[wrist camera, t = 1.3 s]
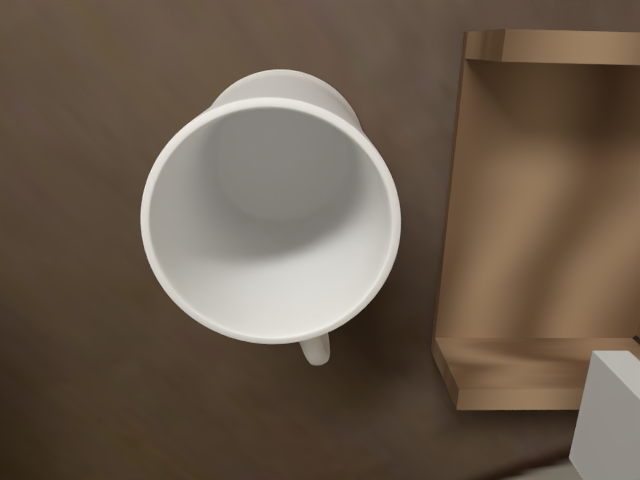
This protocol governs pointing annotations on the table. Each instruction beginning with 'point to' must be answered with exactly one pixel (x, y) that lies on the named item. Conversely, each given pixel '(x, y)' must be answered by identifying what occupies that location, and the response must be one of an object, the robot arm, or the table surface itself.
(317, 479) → the table surface
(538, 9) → the table surface
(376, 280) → the mug
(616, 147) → the keeper cradle
